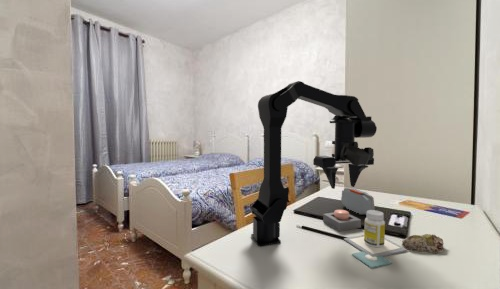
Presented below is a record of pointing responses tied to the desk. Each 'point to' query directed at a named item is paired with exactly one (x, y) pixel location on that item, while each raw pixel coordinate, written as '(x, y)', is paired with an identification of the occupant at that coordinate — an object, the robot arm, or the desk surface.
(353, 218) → the button housing
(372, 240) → the supplement bottle
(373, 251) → the sketch pad
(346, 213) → the button
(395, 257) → the desk surface
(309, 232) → the desk surface
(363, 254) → the card
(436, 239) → the mineral rock
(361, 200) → the grey rounded slab
